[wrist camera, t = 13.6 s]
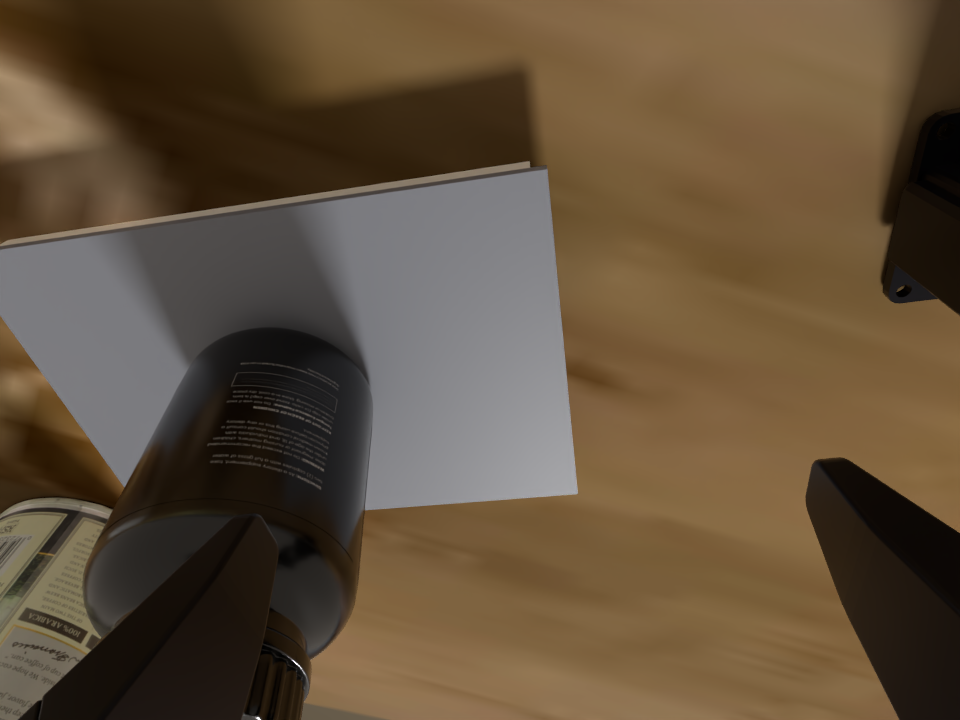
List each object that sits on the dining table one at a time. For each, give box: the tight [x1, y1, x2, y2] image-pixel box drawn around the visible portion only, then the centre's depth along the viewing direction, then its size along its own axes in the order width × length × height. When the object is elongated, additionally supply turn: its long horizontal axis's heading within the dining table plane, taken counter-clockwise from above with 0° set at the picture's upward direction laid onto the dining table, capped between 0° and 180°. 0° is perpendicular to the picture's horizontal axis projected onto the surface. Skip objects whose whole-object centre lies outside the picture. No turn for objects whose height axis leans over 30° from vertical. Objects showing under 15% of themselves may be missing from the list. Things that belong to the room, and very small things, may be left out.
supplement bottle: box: [82, 327, 373, 720], centre depth 17 cm, size 7×7×12 cm
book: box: [0, 161, 578, 510], centre depth 24 cm, size 20×14×3 cm
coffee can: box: [0, 497, 113, 720], centre depth 27 cm, size 10×10×14 cm
